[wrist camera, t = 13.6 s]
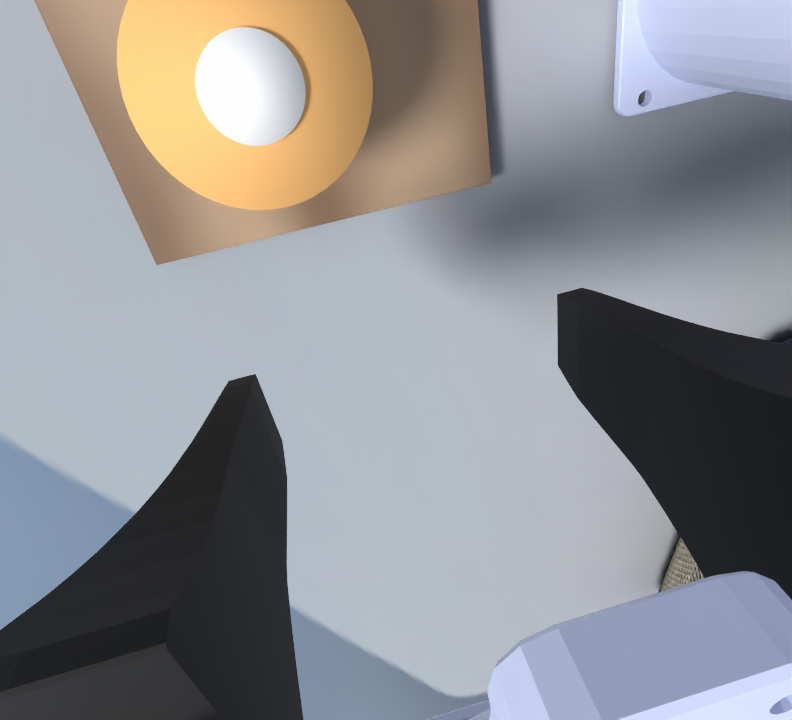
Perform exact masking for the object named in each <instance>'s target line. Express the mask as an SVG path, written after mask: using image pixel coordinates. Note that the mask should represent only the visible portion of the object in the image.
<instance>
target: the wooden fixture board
mask: <svg viewBox="0 0 792 720" xmlns="http://www.w3.org/2000/svg"><path fill="white" fill-rule="evenodd" d="M34 1H35V3H36V5H37V7H38V9H39V12H40V14H41V16H42V18H43V20H44V22H45V24H46V27H47V29H48V31H49V33H50V35H51V37H52V40H53V42H54V44H55V46H56V48H57V50H58V53H59V55H60V57H61V59H62V61H63V63H64V66H65V68H66V70H67V72H68V74H69V76H70V78H71V81H72V83H73V85H74V87H75V89H76V91H77V94H78V96H79V98H80V100H81V102H82V104H83V107H84V109H85V111H86V113H87V115H88V117H89V120H90V122H91V124H92V126H93V128H94V130H95V132H96V135H97V137H98V139H99V141H100V143H101V145H102V148H103V150H104V152H105V154H106V156H107V158H108V161H109V163H110V165H111V167H112V169H113V171H114V174H115V176H116V178H117V180H118V182H119V184H120V186H121V189H122V191H123V193H124V195H125V197H126V199H127V202H128V204H129V206H130V208H131V210H132V212H133V215H134V217H135V219H136V221H137V223H138V225H139V228H140V230H141V232H142V234H143V236H144V238H145V240H146V243H147V245H148V247H149V249H150V251H151V253H152V256H153V258H154V260H155V262H156V264H157V265H159V264H163V263H167V262H171V261H175V260H179V259H183V258H187V257H191V256H195V255H199V254H204V253H208V252H212V251H216V250H220V249H224V248H228V247H232V246H236V245H240V244H244V243H248V242H252V241H256V240H261V239H265V238H269V237H273V236H277V235H281V234H285V233H289V232H293V231H297V230H301V229H305V228H309V227H313V226H317V225H322V224H326V223H330V222H334V221H338V220H342V219H346V218H350V217H354V216H358V215H362V214H366V213H370V212H374V211H379V210H383V209H387V208H391V207H395V206H399V205H403V204H407V203H411V202H415V201H419V200H423V199H427V198H431V197H436V196H440V195H444V194H448V193H452V192H456V191H460V190H464V189H468V188H472V187H476V186H480V185H484V184H488V183H492V182H491V169H490V156H489V143H488V129H487V116H486V103H485V90H484V77H483V63H482V50H481V37H480V24H479V11H478V0H345V1H346V2H347V4H348V5H349V7H350V8H351V10H352V12H353V14H354V16H355V18H356V20H357V22H358V24H359V26H360V28H361V31H362V34H363V36H364V39H365V42H366V45H367V49H368V53H369V57H370V62H371V70H372V78H373V99H372V108H371V115H370V119H369V123H368V127H367V131H366V133H365V136H364V139H363V141H362V144H361V146H360V148H359V150H358V152H357V154H356V156H355V157H354V159H353V160H352V162H351V163H350V165H349V166H348V167H347V169H346V170H345V171H344V172H343V173H342V174H341V176H340V177H339V178H338V179H337V180H336V181H335V182H333V183H332V184H331V185H330V186H329V187H328V188H326V189H325V190H324V191H322V192H320V193H319V194H317V195H316V196H314V197H312V198H310V199H308V200H306V201H304V202H301V203H299V204H296V205H292V206H289V207H285V208H279V209H274V210H248V209H240V208H236V207H231V206H227V205H224V204H221V203H218V202H215V201H212V200H210V199H208V198H206V197H204V196H202V195H200V194H198V193H196V192H195V191H193V190H191V189H190V188H188V187H187V186H185V185H184V184H182V183H181V182H180V181H179V180H177V179H176V178H175V177H173V176H172V175H171V174H170V173H169V172H168V171H167V170H166V169H165V168H164V167H163V166H162V165H161V164H160V163H159V162H158V161H157V160H156V158H155V157H154V156H153V155H152V153H151V152H150V151H149V150H148V148H147V147H146V145H145V144H144V142H143V141H142V139H141V138H140V136H139V134H138V133H137V131H136V129H135V127H134V125H133V123H132V121H131V119H130V117H129V114H128V111H127V108H126V106H125V103H124V100H123V96H122V92H121V88H120V83H119V78H118V68H117V40H118V34H119V28H120V22H121V19H122V16H123V13H124V10H125V6H126V4H127V2H128V0H34Z"/></svg>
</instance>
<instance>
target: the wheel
mask: <svg viewBox="0 0 792 720" xmlns="http://www.w3.org/2000/svg"><path fill="white" fill-rule="evenodd" d="M117 68H118V78H119V83H120V88H121V92H122V96H123V100H124V103H125V106H126V108H127V111H128V114H129V117H130V119H131V121H132V123H133V125H134V127H135V129H136V131H137V133H138V134H139V136H140V138H141V139H142V141H143V142H144V144H145V145H146V147H147V148H148V150H149V151H150V152H151V153H152V155H153V156H154V157H155V158H156V160H157V161H158V162H159V163H160V164H161V165H162V166H163V167H164V168H165V169H166V170H167V171H168V172H169V173H170V174H171V175H172V176H173V177H175V178H176V179H177V180H179V181H180V182H181V183H182V184H184V185H185V186H187V187H188V188H190V189H191V190H193V191H195V192H196V193H198V194H200V195H202V196H204V197H206V198H208V199H210V200H212V201H215V202H218V203H221V204H224V205H227V206H231V207H236V208H240V209H248V210H274V209H279V208H285V207H289V206H292V205H296V204H299V203H301V202H304V201H306V200H308V199H310V198H312V197H314V196H316V195H317V194H319V193H320V192H322V191H324V190H325V189H326V188H328V187H329V186H330V185H331V184H332V183H333V182H335V181H336V180H337V179H338V178H339V177H340V176H341V174H342V173H343V172H344V171H345V170H346V169H347V167H348V166H349V165H350V163H351V162H352V160H353V159H354V157H355V156H356V154H357V152H358V150H359V148H360V146H361V144H362V141H363V139H364V136H365V133H366V131H367V127H368V123H369V119H370V115H371V108H372V99H373V78H372V70H371V62H370V57H369V53H368V49H367V45H366V42H365V39H364V36H363V34H362V31H361V28H360V26H359V24H358V22H357V20H356V18H355V16H354V14H353V12H352V10H351V8H350V7H349V5H348V4H347V2H346V1H345V0H128V2H127V4H126V6H125V10H124V13H123V16H122V19H121V22H120V28H119V34H118V40H117Z"/></svg>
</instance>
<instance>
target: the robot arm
mask: <svg viewBox="0 0 792 720" xmlns="http://www.w3.org/2000/svg"><path fill="white" fill-rule="evenodd" d="M643 91H645V99H644V101H643V102H642V103H641V104H638V98H639V95H640V94H641V93H642V92H643ZM733 91H738V92H743V93H749V94H755V95H761V96H767V97H773V98H778V99H784V100H790V101H792V0H618V16H617V38H616V59H615V80H614V102H613V104H614V109H615V111H616V113H618V114H620V115H622V116H634V115H638V114H642V113H646V112H650V111H654V110H659V109H663V108H667V107H671V106H675V105H679V104H683V103H688V102H692V101H696V100H700V99H704V98H708V97H713V96H717V95H721V94H725V93H729V92H733ZM557 303H558V366H559V368H560V369H561V371H562V373H563V375H564V376H565V378H566V380H567V382H568V383H569V385H570V386H571V388H572V390H573V391H574V393H575V394H576V396H577V398H578V399H579V400H580V401H581V403H582V404H583V405H584V406H585V408H586V409H587V410H588V411H589V413H590V414H591V415H592V416H593V417H594V419H595V420H596V421H597V422H598V424H599V425H600V426H601V427H602V428H603V430H604V431H605V432H606V433H607V434H608V436H609V437H610V438H611V439H612V440H613V442H614V443H615V444H616V445H617V446H618V448H619V449H620V450H621V451H622V452H623V454H624V455H625V456H626V457H627V458H628V460H629V461H630V462H631V463H632V465H633V466H634V467H635V469H636V470H637V471H638V472H639V474H640V475H641V476H642V478H643V479H644V481H645V482H646V484H647V485H648V487H649V488H650V490H651V491H652V493H653V494H654V496H655V497H656V499H657V501H658V502H659V504H660V505H661V507H662V508H663V510H664V511H665V513H666V514H667V516H668V518H669V519H670V521H671V522H672V524H673V526H674V527H675V529H676V531H677V532H678V534H679V535H680V537H681V539H682V540H683V542H684V544H685V545H686V547H687V548H688V550H689V552H690V554H691V555H692V557H693V559H694V561H695V562H696V564H697V566H698V568H699V569H700V571H701V573H702V575H703V576H704V579H701V580H698V581H694V582H691V583H688V584H685V585H682V586H678V587H675V588H672V589H669V590H665V591H662V592H659V593H656V594H653V595H649V596H646V597H643V598H640V599H636V600H633V601H630V602H627V603H624V604H620V605H617V606H614V607H611V608H607V609H604V610H601V611H598V612H595V613H591V614H588V615H585V616H582V617H578V618H575V619H572V620H569V621H566V622H562V623H559V624H556V625H553V626H551V627H549V628H547V629H545V630H542V631H540V632H538V633H536V634H534V635H532V636H530V637H527V638H525V639H523V640H521V641H520V642H519V643H518V644H517V645H515V646H514V647H513V648H512V649H511V650H510V651H509V652H508V653H507V654H505V655H504V656H503V657H502V658H501V659H500V660H499V661H498V662H497V664H496V666H495V668H494V671H493V674H492V677H491V681H490V684H489V687H488V690H487V691H488V697H489V699H488V700H486V701H483V702H479V703H476V704H473V705H470V706H466V707H464V708H460V709H457V710H454V711H451V712H448V713H445V714H441V715H438V716H435V717H432V718H429V719H426V720H792V344H787V343H780V342H774V341H768V340H762V339H757V338H752V337H747V336H743V335H738V334H733V333H728V332H724V331H720V330H716V329H712V328H708V327H704V326H701V325H697V324H694V323H690V322H687V321H683V320H680V319H677V318H673V317H670V316H667V315H664V314H661V313H658V312H655V311H652V310H649V309H646V308H643V307H640V306H637V305H634V304H631V303H628V302H625V301H623V300H620V299H617V298H614V297H611V296H608V295H605V294H602V293H599V292H596V291H592V290H588V289H584V288H580V289H576V290H572V291H569V292H565V293H561V294H557ZM286 561H287V474H286V466H285V458H284V451H283V444H282V439H281V437H280V434H279V432H278V429H277V427H276V424H275V422H274V419H273V417H272V414H271V412H270V409H269V407H268V404H267V402H266V399H265V397H264V394H263V392H262V389H261V387H260V384H259V382H258V379H257V377H256V374H254V375H250V376H246V377H243V378H239V379H235V380H231V381H229V382H228V383H227V385H226V387H225V388H224V390H223V391H222V393H221V395H220V396H219V398H218V400H217V401H216V403H215V405H214V407H213V408H212V410H211V412H210V413H209V415H208V417H207V418H206V420H205V422H204V423H203V425H202V427H201V428H200V430H199V431H198V433H197V435H196V436H195V438H194V439H193V441H192V443H191V444H190V445H189V447H188V448H187V450H186V451H185V453H184V454H183V455H182V457H181V458H180V460H179V461H178V463H177V464H176V465H175V467H174V468H173V470H172V471H171V472H170V474H169V475H168V476H167V478H166V479H165V480H164V481H163V483H162V484H161V485H160V486H159V488H158V489H157V490H156V491H155V492H154V493H153V495H152V496H151V497H150V498H149V499H148V500H147V502H146V503H145V504H144V505H143V506H142V507H141V508H140V510H139V511H138V512H137V513H136V514H135V515H134V516H133V517H132V518H131V519H130V520H129V521H128V522H127V523H126V524H125V525H124V526H123V527H122V528H121V529H120V530H119V531H118V532H117V533H116V534H115V535H114V536H113V537H112V538H111V539H110V540H109V541H108V542H107V543H106V544H105V545H104V546H103V547H102V548H101V549H100V550H99V551H98V552H97V553H96V554H94V555H93V556H92V557H91V558H90V559H89V560H88V561H87V562H86V563H84V564H83V565H82V566H81V567H80V568H79V569H78V570H77V571H75V572H74V573H73V574H72V575H71V576H69V577H68V578H67V579H66V580H65V581H63V582H62V583H61V584H60V585H59V586H57V587H56V588H55V589H54V590H53V591H51V592H50V593H49V594H48V595H46V596H45V597H44V598H42V599H41V600H40V601H39V602H37V603H36V604H35V605H33V606H32V607H31V608H29V609H28V610H27V611H25V612H24V613H23V614H21V615H20V616H19V617H17V618H16V619H15V620H13V621H12V622H11V623H9V624H8V625H7V626H5V627H4V628H3V629H1V630H0V720H303V714H302V707H301V699H300V691H299V684H298V676H297V669H296V660H295V651H294V642H293V635H292V625H291V616H290V605H289V596H288V586H287V564H286Z"/></svg>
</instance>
